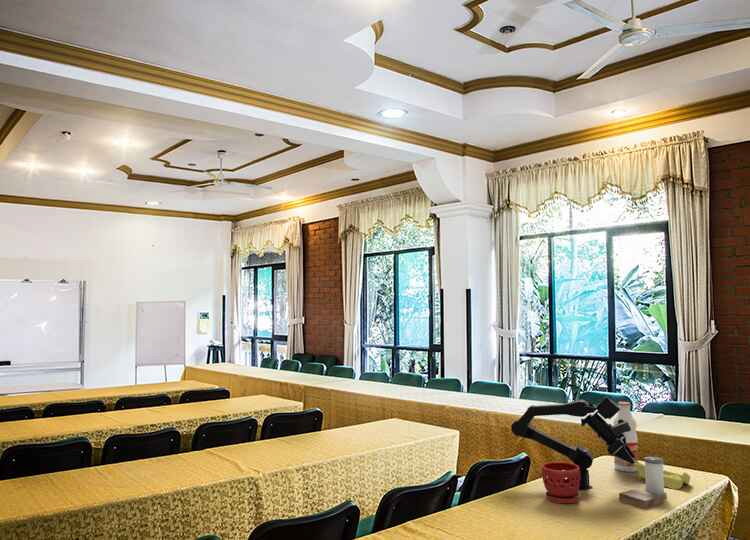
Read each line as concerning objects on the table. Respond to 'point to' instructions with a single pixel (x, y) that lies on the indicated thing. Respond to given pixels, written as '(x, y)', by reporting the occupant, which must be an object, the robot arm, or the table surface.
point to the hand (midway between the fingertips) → (634, 460)
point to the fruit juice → (627, 437)
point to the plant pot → (561, 481)
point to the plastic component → (666, 477)
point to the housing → (654, 475)
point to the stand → (641, 498)
